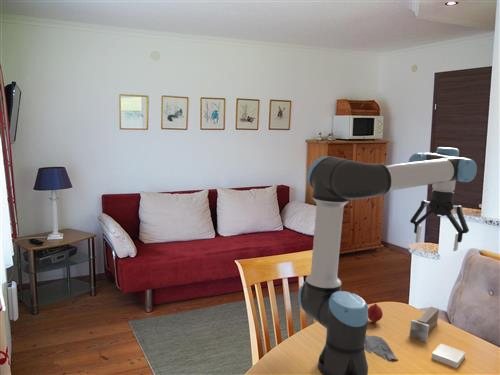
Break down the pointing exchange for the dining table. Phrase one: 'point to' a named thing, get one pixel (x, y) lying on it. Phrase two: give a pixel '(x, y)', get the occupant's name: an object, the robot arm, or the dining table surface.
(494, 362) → the dining table surface
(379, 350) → the stone slab
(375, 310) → the onion
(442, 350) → the tile
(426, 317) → the scraper
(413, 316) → the dining table surface
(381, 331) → the dining table surface
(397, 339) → the dining table surface
